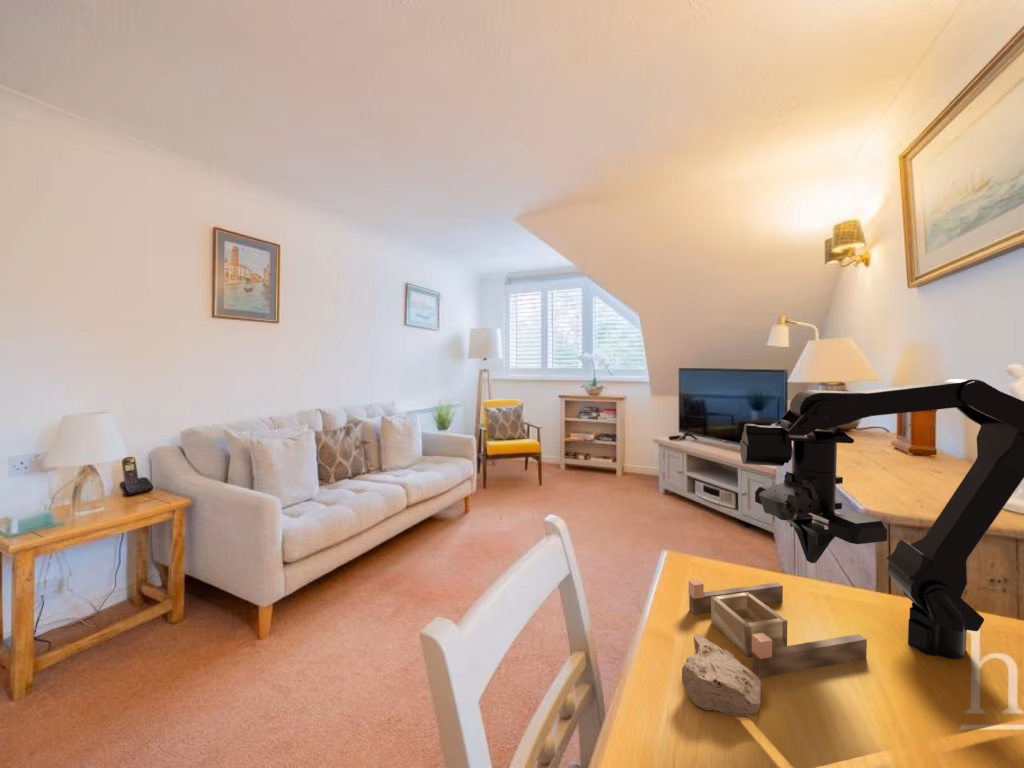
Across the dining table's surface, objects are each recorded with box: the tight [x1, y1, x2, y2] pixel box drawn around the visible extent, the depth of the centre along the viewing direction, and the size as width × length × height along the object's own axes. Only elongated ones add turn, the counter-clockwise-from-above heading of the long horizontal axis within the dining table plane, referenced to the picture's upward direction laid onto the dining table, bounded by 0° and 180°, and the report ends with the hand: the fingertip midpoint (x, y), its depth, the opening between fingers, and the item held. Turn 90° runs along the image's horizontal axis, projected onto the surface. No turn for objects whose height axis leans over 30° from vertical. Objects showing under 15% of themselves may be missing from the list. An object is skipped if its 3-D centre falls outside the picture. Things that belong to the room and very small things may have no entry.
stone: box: [681, 632, 762, 718], centre depth 56 cm, size 9×11×5 cm
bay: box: [688, 579, 868, 679], centre depth 66 cm, size 18×16×6 cm
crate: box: [710, 592, 788, 657], centre depth 66 cm, size 7×8×4 cm
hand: (811, 562), depth 67 cm, fingers closed
